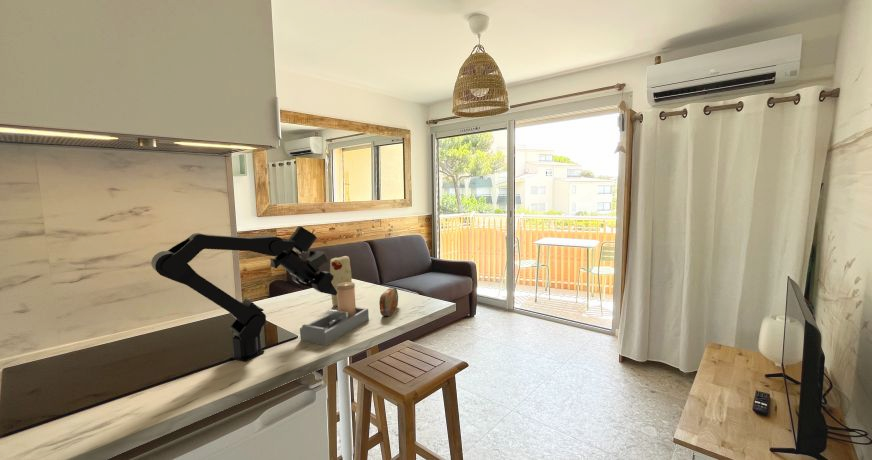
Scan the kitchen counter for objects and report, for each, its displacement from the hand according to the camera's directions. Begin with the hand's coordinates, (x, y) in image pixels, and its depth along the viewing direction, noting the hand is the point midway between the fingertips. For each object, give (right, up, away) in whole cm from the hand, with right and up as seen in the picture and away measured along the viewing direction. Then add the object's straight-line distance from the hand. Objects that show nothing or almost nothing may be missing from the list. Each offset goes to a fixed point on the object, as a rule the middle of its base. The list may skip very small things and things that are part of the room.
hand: (329, 291), depth 122 cm
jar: (+5, -11, +6) cm, 14 cm away
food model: (-3, -10, +27) cm, 29 cm away
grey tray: (+2, -13, +1) cm, 13 cm away
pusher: (+2, -12, 0) cm, 12 cm away
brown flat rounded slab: (+18, -11, +17) cm, 27 cm away
